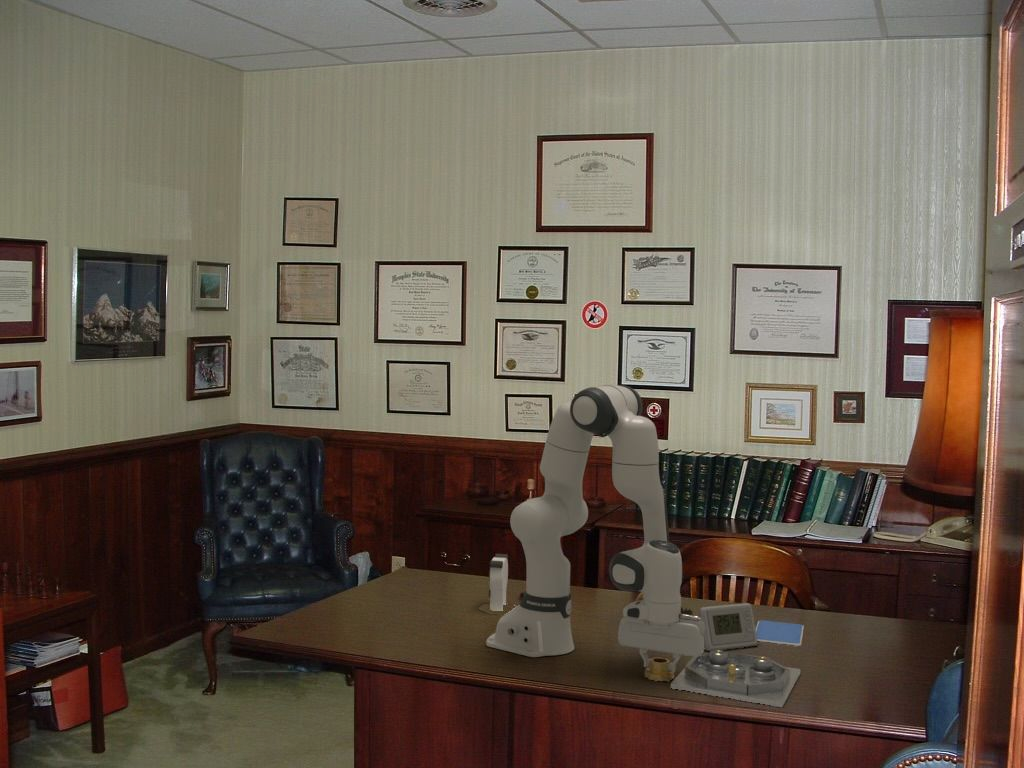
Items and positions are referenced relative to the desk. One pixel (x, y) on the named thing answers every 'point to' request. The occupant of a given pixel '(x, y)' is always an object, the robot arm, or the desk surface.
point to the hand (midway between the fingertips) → (659, 669)
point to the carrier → (738, 677)
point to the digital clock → (728, 626)
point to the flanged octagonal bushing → (659, 670)
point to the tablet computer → (779, 632)
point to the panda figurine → (498, 581)
